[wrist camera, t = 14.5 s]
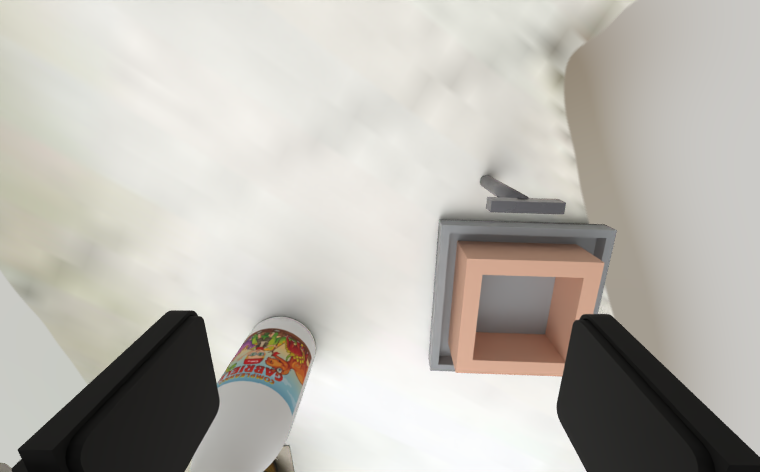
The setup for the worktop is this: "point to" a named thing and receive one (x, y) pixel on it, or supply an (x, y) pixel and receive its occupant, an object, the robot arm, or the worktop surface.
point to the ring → (513, 350)
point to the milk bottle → (258, 398)
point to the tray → (506, 279)
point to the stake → (517, 200)
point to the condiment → (281, 462)
